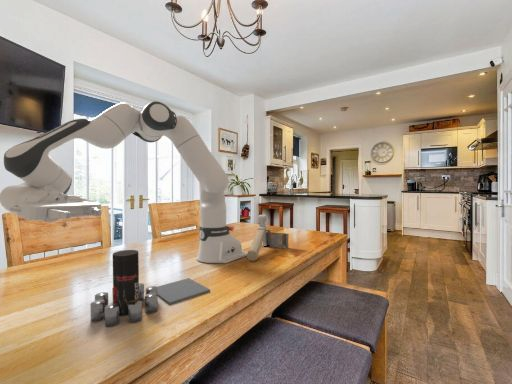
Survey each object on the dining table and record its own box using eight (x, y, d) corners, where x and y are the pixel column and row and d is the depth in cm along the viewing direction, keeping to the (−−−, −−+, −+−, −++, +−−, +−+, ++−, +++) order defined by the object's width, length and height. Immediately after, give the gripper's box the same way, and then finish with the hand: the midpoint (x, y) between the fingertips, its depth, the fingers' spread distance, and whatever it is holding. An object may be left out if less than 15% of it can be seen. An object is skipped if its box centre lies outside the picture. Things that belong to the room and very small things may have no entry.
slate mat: (188, 279, 91) (188, 278, 91) (210, 291, 81) (210, 289, 81) (150, 290, 82) (150, 288, 82) (169, 304, 72) (169, 302, 72)
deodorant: (136, 314, 67) (135, 255, 66) (110, 317, 65) (109, 256, 65) (141, 304, 72) (140, 249, 72) (117, 306, 71) (116, 250, 71)
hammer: (257, 239, 109) (267, 214, 137) (245, 239, 110) (258, 214, 138) (258, 273, 113) (268, 242, 142) (247, 273, 114) (259, 242, 142)
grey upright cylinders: (146, 292, 80) (145, 279, 80) (169, 311, 69) (169, 295, 68) (83, 309, 69) (83, 294, 69) (99, 335, 58) (99, 317, 58)
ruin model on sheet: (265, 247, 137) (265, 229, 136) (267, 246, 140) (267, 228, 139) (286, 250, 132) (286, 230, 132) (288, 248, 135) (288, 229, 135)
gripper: (6, 195, 67) (45, 204, 63) (81, 195, 86) (115, 202, 82) (3, 220, 67) (42, 230, 63) (79, 214, 87) (113, 222, 82)
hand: (84, 214), depth 73 cm, fingers open, 8 cm apart
